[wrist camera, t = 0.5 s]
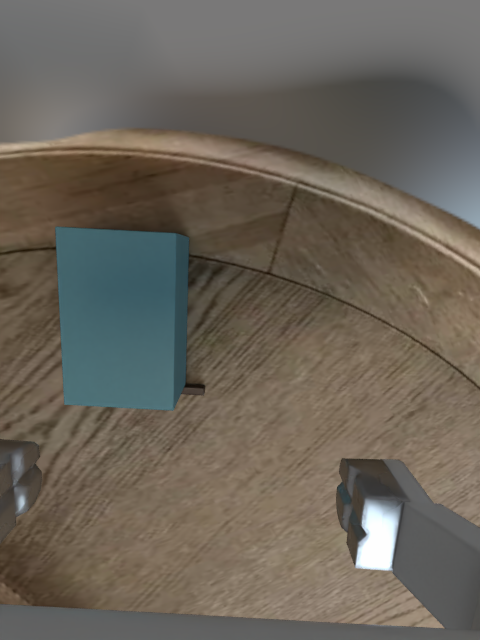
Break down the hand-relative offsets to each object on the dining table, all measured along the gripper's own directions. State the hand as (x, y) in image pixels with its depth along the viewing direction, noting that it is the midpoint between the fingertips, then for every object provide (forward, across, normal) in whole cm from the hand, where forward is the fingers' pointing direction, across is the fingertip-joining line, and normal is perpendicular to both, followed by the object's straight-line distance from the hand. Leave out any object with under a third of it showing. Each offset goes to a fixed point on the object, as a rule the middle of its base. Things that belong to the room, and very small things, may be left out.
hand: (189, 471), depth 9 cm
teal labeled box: (+16, +6, -1) cm, 17 cm away
